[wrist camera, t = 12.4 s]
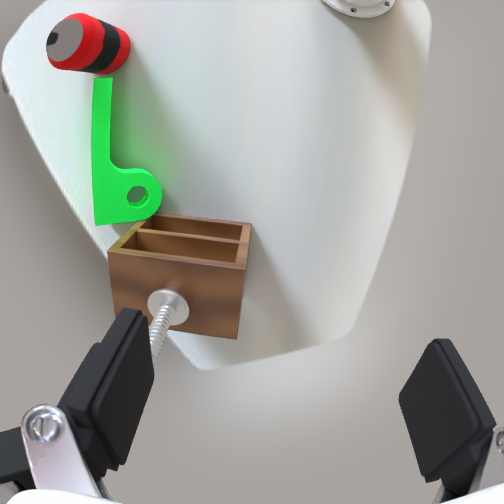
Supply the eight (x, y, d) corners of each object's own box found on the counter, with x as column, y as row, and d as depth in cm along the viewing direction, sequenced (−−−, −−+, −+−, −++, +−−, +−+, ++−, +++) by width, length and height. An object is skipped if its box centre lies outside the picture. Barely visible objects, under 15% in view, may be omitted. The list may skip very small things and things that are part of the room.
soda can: (96, 27, 33) (51, 11, 22) (138, 30, 34) (98, 10, 23) (82, 71, 36) (34, 67, 25) (122, 77, 37) (78, 71, 26)
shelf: (147, 211, 46) (106, 250, 33) (251, 223, 46) (245, 269, 33) (148, 269, 50) (115, 319, 38) (244, 282, 50) (236, 339, 38)
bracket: (152, 203, 49) (162, 218, 44) (94, 209, 45) (95, 226, 39) (157, 80, 41) (168, 77, 35) (94, 82, 36) (94, 78, 30)
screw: (176, 273, 34) (200, 305, 36) (145, 289, 35) (169, 319, 37) (137, 354, 22) (174, 392, 24) (100, 367, 23) (136, 401, 25)
